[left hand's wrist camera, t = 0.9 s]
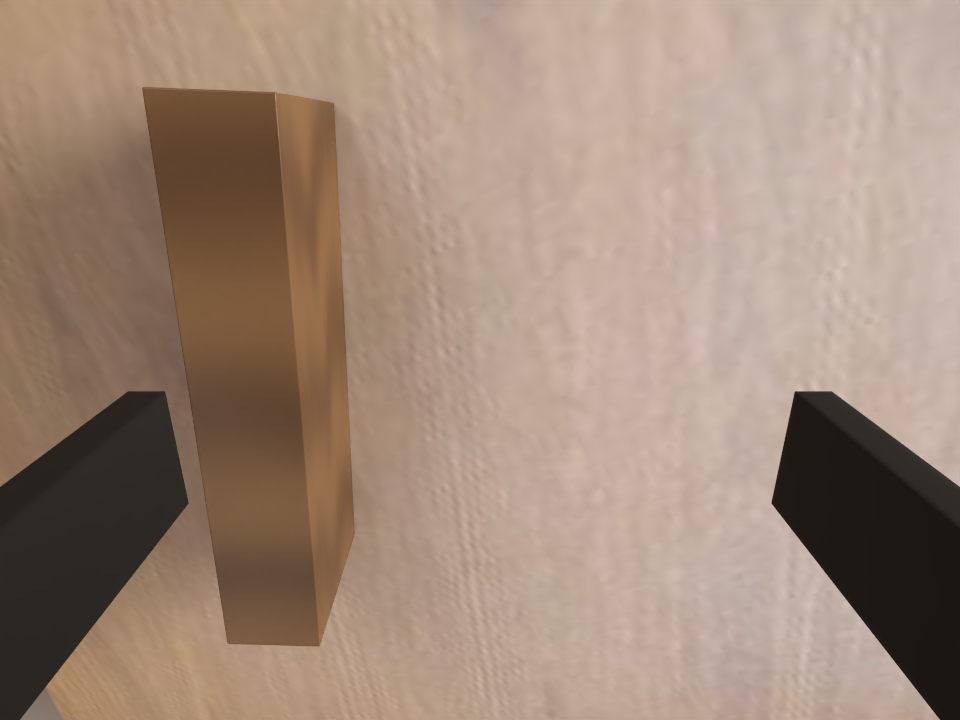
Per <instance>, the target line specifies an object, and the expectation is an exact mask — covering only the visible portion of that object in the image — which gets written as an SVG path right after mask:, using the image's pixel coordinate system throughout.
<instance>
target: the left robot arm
mask: <svg viewBox="0 0 960 720" xmlns="http://www.w3.org/2000/svg"><path fill="white" fill-rule="evenodd" d="M187 505H188V498H187V494H186V489H185V484H184V479H183V475H182V470H181V465H180V460H179V456H178V451H177V446H176V441H175V437H174V432H173V427H172V422H171V418H170V413H169V408H168V403H167V398H166V394H165V392H127V393H126V394H124V395H123V396H122V397H120V398H119V399H118V400H116V401H115V402H114V403H112V404H111V405H110V406H108V407H107V408H105V409H104V410H103V411H101V412H100V413H99V414H97V415H96V416H95V417H93V418H92V419H91V420H89V421H88V422H87V423H85V424H84V425H83V426H81V427H80V428H79V429H77V430H76V431H75V432H73V433H72V434H71V435H69V436H68V437H67V438H65V439H64V440H63V441H61V442H60V443H59V444H57V445H56V446H55V447H53V448H52V449H51V450H49V451H48V452H47V453H45V454H44V455H42V456H41V457H40V458H38V459H37V460H36V461H34V462H33V463H32V464H30V465H29V466H28V467H26V468H25V469H24V470H22V471H21V472H20V473H18V474H17V475H16V476H14V477H13V478H12V479H10V480H9V481H8V482H6V483H5V484H4V485H2V486H1V487H0V720H20V719H21V718H22V716H23V715H24V714H25V712H26V711H27V710H28V709H29V707H30V706H31V705H32V704H33V702H34V701H35V700H36V698H37V697H38V696H39V695H40V693H41V692H42V691H43V689H44V688H45V687H46V686H47V684H48V683H49V682H50V680H51V679H52V678H53V677H54V675H55V674H56V673H57V671H58V670H59V669H60V668H61V666H62V665H63V664H64V663H65V661H66V660H67V659H68V657H69V656H70V655H71V654H72V652H73V651H74V650H75V648H76V647H77V646H78V645H79V643H80V642H81V641H82V639H83V638H84V637H85V636H86V634H87V633H88V632H89V630H90V629H91V628H92V627H93V625H94V624H95V623H96V621H97V620H98V619H99V618H100V616H101V615H102V614H103V612H104V611H105V610H106V609H107V607H108V606H109V605H110V603H111V602H112V601H113V600H114V598H115V597H116V596H117V594H118V593H119V592H120V591H121V589H122V588H123V587H124V585H125V584H126V583H127V582H128V580H129V579H130V578H131V577H132V575H133V574H134V573H135V571H136V570H137V569H138V568H139V566H140V565H141V564H142V562H143V561H144V560H145V559H146V557H147V556H148V555H149V553H150V552H151V551H152V550H153V548H154V547H155V546H156V544H157V543H158V542H159V541H160V539H161V538H162V537H163V535H164V534H165V533H166V532H167V530H168V529H169V528H170V526H171V525H172V524H173V523H174V521H175V520H176V519H177V517H178V516H179V515H180V514H181V512H182V511H183V510H184V508H185V507H186V506H187ZM772 505H773V506H774V507H775V508H776V510H777V511H778V512H779V514H780V515H781V516H782V517H783V519H784V520H785V521H786V523H787V524H788V525H789V526H790V528H791V529H792V530H793V532H794V533H795V534H796V535H797V537H798V538H799V539H800V541H801V542H802V543H803V544H804V546H805V547H806V548H807V550H808V551H809V552H810V553H811V555H812V556H813V557H814V559H815V560H816V561H817V562H818V564H819V565H820V566H821V568H822V569H823V570H824V571H825V573H826V574H827V575H828V577H829V578H830V579H831V580H832V582H833V583H834V584H835V585H836V587H837V588H838V589H839V591H840V592H841V593H842V594H843V596H844V597H845V598H846V600H847V601H848V602H849V603H850V605H851V606H852V607H853V609H854V610H855V611H856V612H857V614H858V615H859V616H860V618H861V619H862V620H863V621H864V623H865V624H866V625H867V627H868V628H869V629H870V630H871V632H872V633H873V634H874V636H875V637H876V638H877V639H878V641H879V642H880V643H881V645H882V646H883V647H884V648H885V650H886V651H887V652H888V654H889V655H890V656H891V657H892V659H893V660H894V661H895V663H896V664H897V665H898V666H899V668H900V669H901V670H902V671H903V673H904V674H905V675H906V677H907V678H908V679H909V680H910V682H911V683H912V684H913V686H914V687H915V688H916V689H917V691H918V692H919V693H920V695H921V696H922V697H923V698H924V700H925V701H926V702H927V704H928V705H929V706H930V707H931V709H932V710H933V711H934V713H935V714H936V715H937V716H938V718H939V719H940V720H960V487H959V486H958V485H956V484H955V483H954V482H952V481H951V480H950V479H948V478H947V477H946V476H944V475H943V474H942V473H940V472H939V471H938V470H936V469H935V468H934V467H932V466H931V465H930V464H928V463H927V462H926V461H924V460H923V459H922V458H920V457H919V456H918V455H916V454H915V453H913V452H912V451H911V450H909V449H908V448H907V447H905V446H904V445H903V444H901V443H900V442H899V441H897V440H896V439H895V438H893V437H892V436H891V435H889V434H888V433H887V432H885V431H884V430H883V429H881V428H880V427H879V426H877V425H876V424H875V423H873V422H872V421H871V420H869V419H868V418H867V417H865V416H864V415H863V414H861V413H860V412H859V411H857V410H856V409H854V408H853V407H852V406H850V405H849V404H848V403H846V402H845V401H844V400H842V399H841V398H840V397H838V396H837V395H836V394H834V393H833V392H795V394H794V398H793V403H792V408H791V413H790V418H789V422H788V427H787V432H786V437H785V441H784V446H783V451H782V456H781V460H780V465H779V470H778V475H777V479H776V484H775V489H774V494H773V498H772Z"/></svg>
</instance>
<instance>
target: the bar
mask: <svg viewBox="0 0 960 720" xmlns="http://www.w3.org/2000/svg"><path fill="white" fill-rule="evenodd" d="M142 89H143V96H144V102H145V109H146V115H147V122H148V128H149V135H150V141H151V148H152V155H153V161H154V168H155V174H156V181H157V187H158V194H159V200H160V207H161V213H162V220H163V226H164V233H165V239H166V246H167V252H168V259H169V265H170V272H171V278H172V285H173V291H174V298H175V304H176V311H177V317H178V324H179V330H180V337H181V343H182V350H183V356H184V363H185V369H186V376H187V382H188V389H189V395H190V402H191V409H192V415H193V422H194V428H195V435H196V441H197V448H198V454H199V461H200V467H201V474H202V480H203V487H204V493H205V500H206V506H207V513H208V519H209V526H210V532H211V539H212V545H213V552H214V558H215V565H216V571H217V578H218V584H219V591H220V597H221V604H222V610H223V617H224V623H225V630H226V636H227V643H228V644H253V645H289V646H320V644H321V641H322V637H323V634H324V631H325V628H326V624H327V621H328V618H329V615H330V611H331V608H332V605H333V602H334V599H335V595H336V592H337V589H338V586H339V582H340V579H341V576H342V573H343V570H344V566H345V563H346V560H347V557H348V553H349V550H350V547H351V544H352V541H353V537H354V514H353V494H352V473H351V452H350V431H349V410H348V389H347V368H346V347H345V326H344V305H343V284H342V264H341V243H340V222H339V201H338V180H337V159H336V138H335V117H334V103H330V102H325V101H319V100H314V99H308V98H303V97H297V96H292V95H286V94H280V93H275V92H251V91H226V90H201V89H177V88H152V87H143V88H142Z"/></svg>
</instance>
